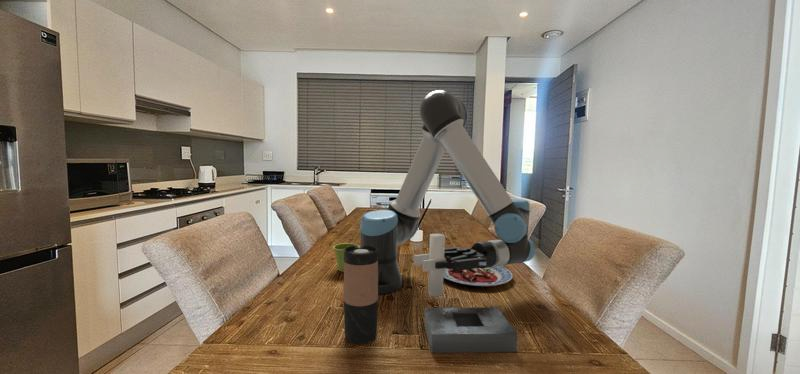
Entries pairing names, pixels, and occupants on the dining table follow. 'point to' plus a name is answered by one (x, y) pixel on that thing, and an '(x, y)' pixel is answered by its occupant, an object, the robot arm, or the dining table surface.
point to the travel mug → (360, 293)
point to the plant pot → (341, 254)
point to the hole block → (469, 330)
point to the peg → (437, 275)
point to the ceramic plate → (479, 276)
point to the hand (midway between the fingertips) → (418, 263)
